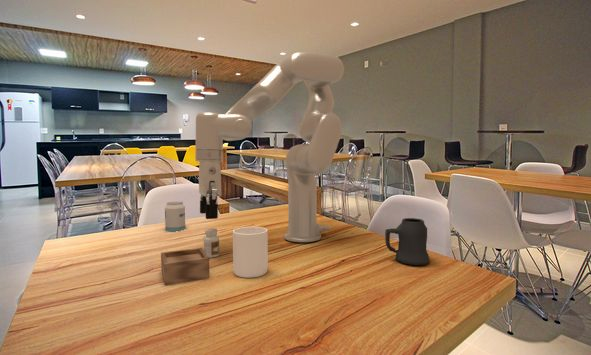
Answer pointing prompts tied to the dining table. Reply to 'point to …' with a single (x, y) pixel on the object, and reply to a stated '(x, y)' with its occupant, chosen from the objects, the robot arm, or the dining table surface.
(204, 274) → the walnut box
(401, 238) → the mug
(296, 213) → the robot arm
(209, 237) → the pill bottle
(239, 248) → the mug
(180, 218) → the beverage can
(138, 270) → the dining table surface
